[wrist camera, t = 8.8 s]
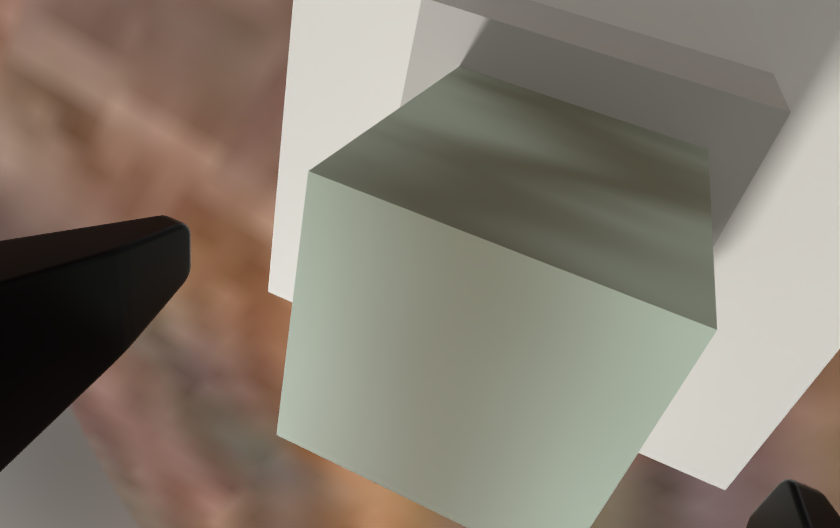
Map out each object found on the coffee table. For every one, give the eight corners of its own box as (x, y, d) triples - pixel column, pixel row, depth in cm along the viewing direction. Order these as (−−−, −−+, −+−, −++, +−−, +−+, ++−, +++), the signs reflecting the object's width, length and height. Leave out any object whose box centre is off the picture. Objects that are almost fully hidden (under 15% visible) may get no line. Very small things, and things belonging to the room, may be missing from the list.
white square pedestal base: (1176, -116, 11) (1389, -125, 7) (723, 466, 19) (729, 577, 16) (342, -298, 14) (232, -359, 10) (283, 277, 23) (214, 340, 19)
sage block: (708, 149, 11) (716, 329, 7) (606, 345, 14) (561, 573, 9) (459, 66, 12) (308, 171, 8) (409, 265, 15) (276, 435, 10)
